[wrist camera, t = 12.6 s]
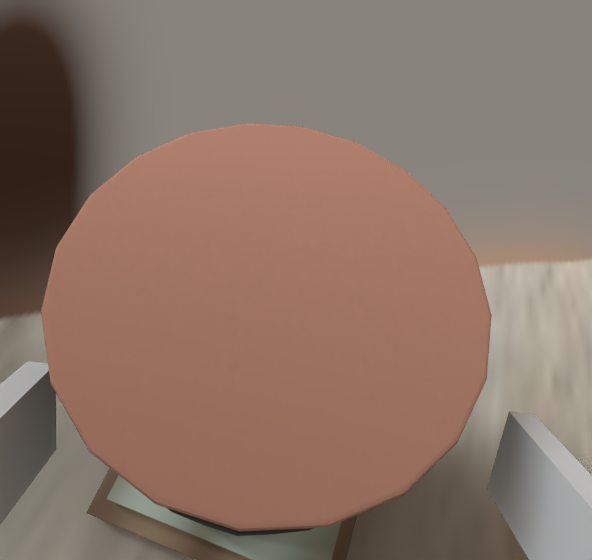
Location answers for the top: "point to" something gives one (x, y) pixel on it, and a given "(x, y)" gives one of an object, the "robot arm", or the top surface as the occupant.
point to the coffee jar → (266, 328)
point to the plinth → (180, 538)
